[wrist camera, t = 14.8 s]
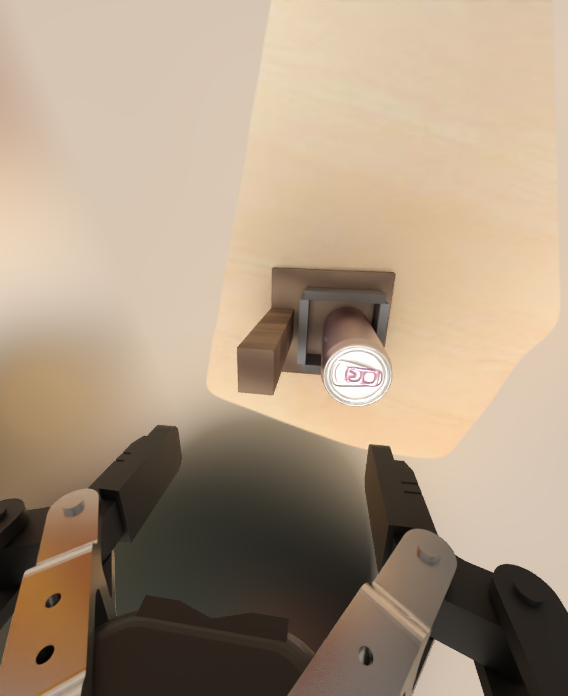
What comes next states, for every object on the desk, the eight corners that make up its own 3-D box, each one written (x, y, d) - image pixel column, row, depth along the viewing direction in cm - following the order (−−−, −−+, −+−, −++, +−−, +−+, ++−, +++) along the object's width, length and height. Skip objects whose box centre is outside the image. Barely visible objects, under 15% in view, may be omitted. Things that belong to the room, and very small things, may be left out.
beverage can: (364, 353, 39) (386, 414, 25) (319, 347, 39) (316, 403, 25) (373, 309, 37) (402, 348, 23) (326, 303, 37) (325, 337, 23)
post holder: (274, 267, 38) (235, 284, 22) (392, 272, 37) (447, 295, 20) (272, 366, 43) (239, 441, 27) (377, 374, 41) (411, 460, 25)
